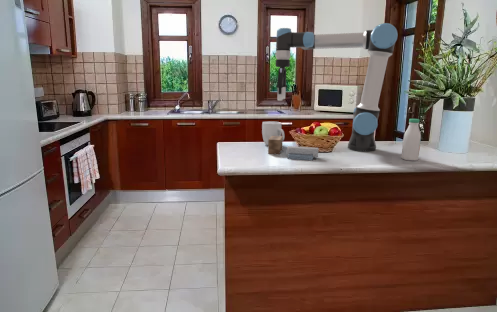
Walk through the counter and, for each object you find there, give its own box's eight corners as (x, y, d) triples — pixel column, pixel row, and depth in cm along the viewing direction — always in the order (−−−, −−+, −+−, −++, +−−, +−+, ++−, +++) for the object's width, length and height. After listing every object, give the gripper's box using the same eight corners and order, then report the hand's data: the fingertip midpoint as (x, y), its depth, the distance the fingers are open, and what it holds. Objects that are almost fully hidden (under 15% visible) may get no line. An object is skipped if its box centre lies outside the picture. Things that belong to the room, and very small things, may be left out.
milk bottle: (417, 161, 170) (422, 120, 166) (399, 159, 174) (404, 119, 170) (419, 158, 176) (424, 118, 172) (402, 156, 180) (407, 117, 176)
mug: (289, 146, 203) (290, 123, 200) (277, 148, 196) (277, 125, 193) (270, 142, 214) (271, 120, 211) (257, 144, 206) (258, 122, 203)
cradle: (313, 156, 178) (313, 152, 178) (312, 160, 170) (312, 156, 169) (289, 154, 181) (289, 151, 180) (287, 158, 172) (287, 154, 172)
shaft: (318, 155, 175) (318, 147, 174) (317, 157, 171) (318, 149, 170) (287, 153, 178) (288, 146, 177) (286, 155, 174) (287, 147, 173)
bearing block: (282, 149, 192) (282, 136, 191) (279, 154, 181) (280, 140, 180) (271, 149, 194) (271, 135, 192) (268, 153, 183) (268, 139, 181)
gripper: (278, 60, 200) (277, 98, 204) (272, 58, 176) (271, 101, 181) (292, 60, 198) (290, 98, 203) (287, 58, 174) (285, 101, 179)
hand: (281, 99), depth 192 cm, fingers open, 13 cm apart
